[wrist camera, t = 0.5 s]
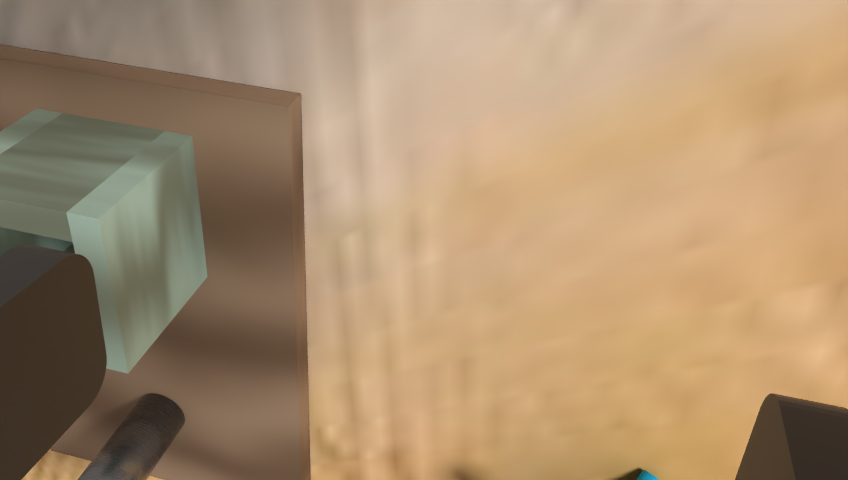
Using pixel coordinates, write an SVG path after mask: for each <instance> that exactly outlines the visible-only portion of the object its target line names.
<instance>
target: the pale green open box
mask: <svg viewBox="0 0 848 480" xmlns="http://www.w3.org/2000/svg"><path fill="white" fill-rule="evenodd" d="M20 244H29V245H34V246H39V247H44V248H49V249H54V250H59V251H64V252H70V253H75V254H80V255H82V256H84V257H86V258H87V259H88V260H89V262H90V263H91V266H92V268H93V272H94V277H95V283H96V290H97V296H98V303H99V309H100V316H101V322H102V328H103V335H104V341H105V348H106V355H107V366H106V369H111V370H115V371H119V372H124V373H129V372H130V371H131V370H132V368H133V367H134V366H135V365H136V364H137V362H138V361H139V360H140V359H141V357H142V356H143V355H144V354H145V353H146V351H147V350H148V349H149V348H150V346H151V345H152V344H153V343H154V342H155V340H156V339H157V338H158V337H159V335H160V334H161V333H162V332H163V331H164V329H165V328H166V327H167V326H168V324H169V323H170V322H171V321H172V320H173V318H174V317H175V316H176V315H177V313H178V312H179V311H180V310H181V309H182V307H183V306H184V305H185V304H186V302H187V301H188V300H189V299H190V298H191V296H192V295H193V294H194V293H195V291H196V290H197V289H198V288H199V287H200V285H201V284H202V283H203V282H204V280H205V279H206V278H207V268H206V258H205V249H204V240H203V231H202V222H201V212H200V203H199V194H198V185H197V176H196V166H195V157H194V148H193V139H192V136H189V135H184V134H178V133H172V132H167V131H161V130H156V129H150V128H144V127H139V126H133V125H127V124H122V123H116V122H110V121H105V120H99V119H93V118H88V117H82V116H76V115H71V114H65V113H59V112H54V111H48V110H42V109H35V110H34V111H32V112H31V113H29V114H27V115H26V116H24V117H23V118H21V119H19V120H18V121H16V122H14V123H13V124H11V125H10V126H8V127H6V128H5V129H3V130H2V131H0V256H1V255H3V254H4V253H6V252H7V251H8V250H10V249H11V248H13V247H15V246H17V245H20Z"/></svg>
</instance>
